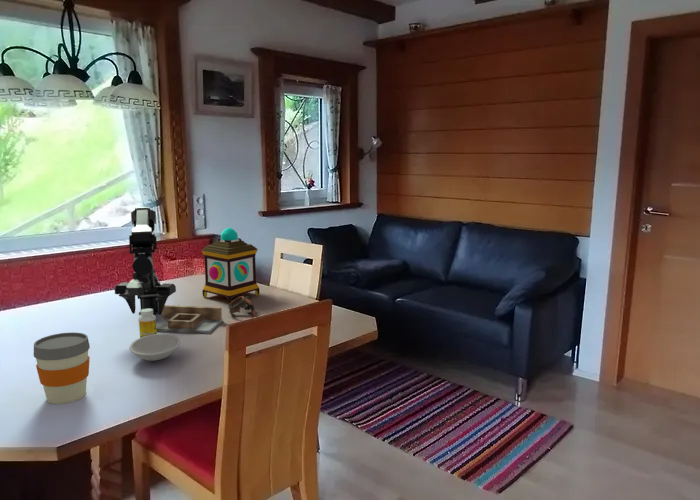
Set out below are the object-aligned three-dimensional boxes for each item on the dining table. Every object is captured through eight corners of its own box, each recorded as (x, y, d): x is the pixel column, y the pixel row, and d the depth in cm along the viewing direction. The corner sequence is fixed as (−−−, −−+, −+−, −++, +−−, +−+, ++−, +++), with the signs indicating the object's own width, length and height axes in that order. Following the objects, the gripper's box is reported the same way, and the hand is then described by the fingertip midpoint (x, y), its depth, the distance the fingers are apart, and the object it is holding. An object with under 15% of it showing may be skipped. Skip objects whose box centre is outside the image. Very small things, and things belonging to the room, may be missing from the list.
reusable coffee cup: (66, 382, 146) (61, 330, 143) (104, 389, 142) (100, 334, 140) (26, 403, 134) (20, 346, 131) (67, 410, 130) (61, 352, 128)
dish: (178, 369, 156) (177, 352, 155) (125, 372, 153) (124, 356, 152) (183, 347, 172) (183, 332, 172) (136, 350, 170) (135, 335, 169)
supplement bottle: (139, 336, 182) (137, 308, 181) (156, 333, 185) (154, 306, 183) (140, 341, 178) (138, 313, 176) (157, 338, 180) (156, 311, 178)
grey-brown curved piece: (255, 320, 202) (243, 303, 199) (234, 329, 204) (222, 312, 201) (262, 303, 213) (251, 287, 210) (242, 312, 215) (230, 296, 212)
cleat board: (148, 331, 187) (147, 316, 186) (165, 318, 201) (164, 304, 200) (209, 333, 185) (208, 318, 184) (222, 320, 199) (222, 306, 198)
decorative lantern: (233, 288, 246) (231, 223, 240) (264, 295, 234) (262, 227, 229) (197, 297, 230) (194, 228, 224) (229, 305, 218) (226, 232, 213)
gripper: (103, 273, 170) (107, 320, 173) (160, 274, 168) (163, 322, 171) (121, 265, 181) (124, 310, 184) (175, 267, 179) (177, 312, 182)
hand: (147, 313), depth 180 cm, fingers open, 9 cm apart
